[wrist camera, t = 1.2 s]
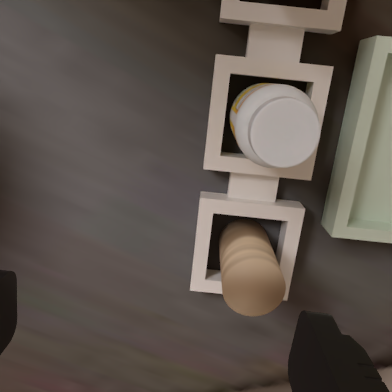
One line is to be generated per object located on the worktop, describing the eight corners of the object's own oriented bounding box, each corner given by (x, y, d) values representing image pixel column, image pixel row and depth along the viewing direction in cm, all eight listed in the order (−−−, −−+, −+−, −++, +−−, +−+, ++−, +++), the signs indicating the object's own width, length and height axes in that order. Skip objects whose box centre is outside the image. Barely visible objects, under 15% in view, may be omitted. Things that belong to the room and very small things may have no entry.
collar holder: (233, -114, 26) (236, -129, 24) (357, -100, 26) (369, -115, 24) (191, 278, 35) (189, 290, 33) (282, 288, 35) (287, 300, 33)
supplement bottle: (235, 77, 29) (248, 75, 20) (302, 89, 29) (345, 91, 20) (223, 144, 31) (230, 171, 22) (286, 155, 31) (320, 185, 22)
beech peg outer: (221, 216, 33) (226, 256, 25) (271, 221, 33) (290, 263, 25) (216, 260, 34) (218, 312, 26) (263, 266, 34) (280, 319, 26)
